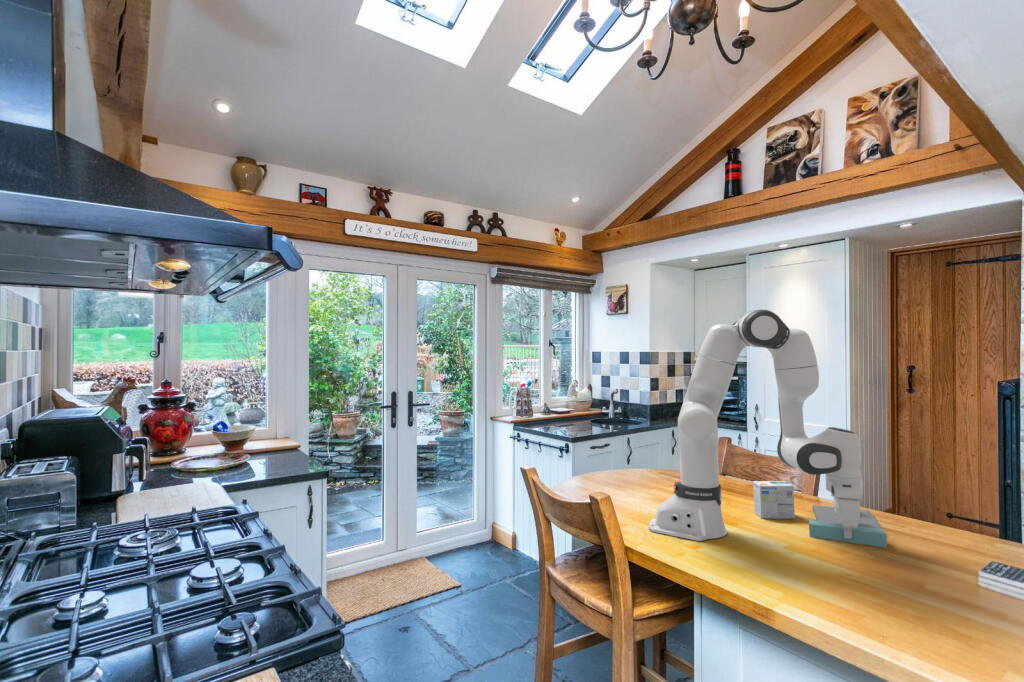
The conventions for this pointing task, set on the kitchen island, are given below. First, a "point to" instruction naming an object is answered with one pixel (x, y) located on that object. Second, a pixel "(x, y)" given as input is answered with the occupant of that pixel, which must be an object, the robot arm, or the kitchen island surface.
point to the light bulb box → (773, 499)
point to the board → (831, 516)
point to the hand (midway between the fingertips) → (846, 534)
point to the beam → (836, 533)
